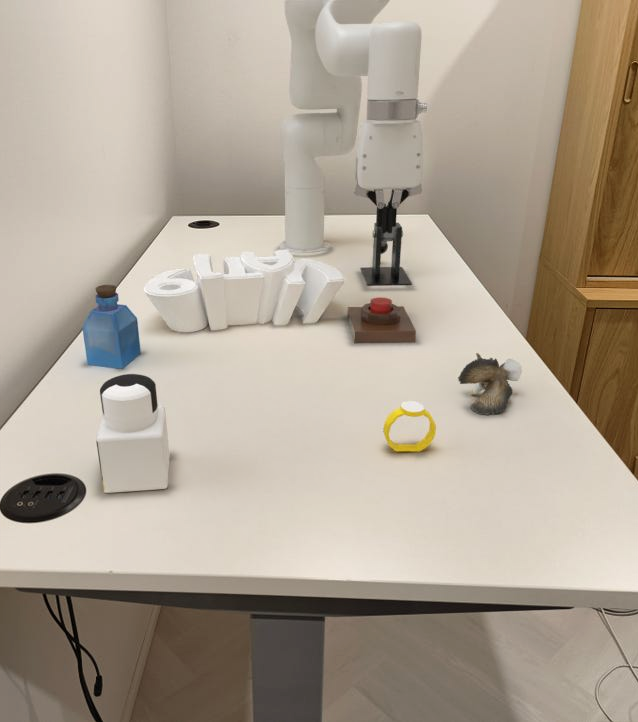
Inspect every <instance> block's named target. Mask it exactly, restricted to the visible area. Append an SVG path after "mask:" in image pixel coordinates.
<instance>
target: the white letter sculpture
mask: <svg viewBox="0 0 638 722" xmlns="http://www.w3.org/2000/svg"><path fill="white" fill-rule="evenodd" d="M192 259H193V264H194V269H195V273H196V281H195V280H194V277H193V274H192V270H191V269H187V268H177V269H169V270H166V271H163V272H161V273H159V274H157V275H155V276H154V277H152V278H151V279H149V280H148V281H147V283H146V284H145V285H144V287H143V292H144V293H145V294H146V296H147V297H148V299H149V300H150V302H151V303H152V305H153V306H154V308H155V309H156V311H157V312H158V313H159V315H160V317H161V318H162V319H163V321H164V322H165V323H166V325H167V326H168V328H169V329H170V330H172V331H174V332H178V333H194V332H199V331H201V330H203V329H205V328H207V327H208V326H209V330H210V331H211V332H212V331H221V330H226V329H228V326H247V325H256V324H261V325H265V324H266V323H268V322H271V321H272V323H273V324H274V326H287V325H289V323H290V320H291V318H292V316H293V313H294V312H295V309H296V307H297V308H298V309H300V310H301V312H302V313H303V314H300V317H301V319H302V324H317V322H318V321H319V319H320V318H321V316H322V315H323V314H324V313H325V311H326V309H328V307H329V305H330V303H331V302H332V301H333V299H334V298H335V296H336V295H337V293H338V292H339V291H340V289H341V288H342V286H343V285H344V283H345V282H346V277H345V275H344V274H343V273H342V272H341V270H339V269H338V268H336V267H334V266H333V265H330V264H328V263H326V262H324V261H323V262H322V261H320V260H315V259H312V258H307V257H303V258H301V259H298V260H296V261H295V260H294V255H293V254H292V252H289V251H288V250H279V249H276V250H274V251H273V253H272V256H256V252H254V251H253V250H251V251H243V252H241V254H240V257H238V256H230V257H229V256H228V257H224V258H222V263H223V273H222V272H214V270H213V262H212V256H211V254H210V253H197V254H194V255H193V256H192Z"/></svg>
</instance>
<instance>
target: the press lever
mask: <svg viewBox="0 0 638 722" xmlns="http://www.w3.org/2000/svg"><path fill="white" fill-rule="evenodd" d="M393 239H394V227H392V233H387V232H386V233H382V242H381V255H383V254H385V253H386V252H387V251H388V247H389V244H388V242H393Z"/></svg>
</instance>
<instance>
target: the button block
mask: <svg viewBox="0 0 638 722" xmlns="http://www.w3.org/2000/svg"><path fill="white" fill-rule="evenodd" d="M347 321H348V326H349V329H350V333H351V335H352V340H353V343H354V344H413V343H414V344H415V343H416V335H417V330H416V328H415V327H414V326H415V325H414V324H413V322H412V321H411V318H410V316H409V315H408V312H407V311H406V309H405V306H403V305H396V304H394V303H392V309H391V312H387V313H377V312H373V311H370V302H368V303H365V304H364V305H362V306H348V307H347Z"/></svg>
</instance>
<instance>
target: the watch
mask: <svg viewBox="0 0 638 722" xmlns="http://www.w3.org/2000/svg"><path fill="white" fill-rule="evenodd" d="M403 416H407V417H410V418H418V417H419V418H420V417H421V416H424V417H425V418H427V419H428V421H429V427H428V428H429V429H428V432H427V433H426V435H425V436H424V437H423V439H421V440H419V441H418V442H416V443H412V444H411V443H410V444H408V443H395V442H394V441H393V440H392V439H390V431H391V427H392V425H393V424H395V422H396V420H398V419H399V418H400V417H403ZM436 429H437V426H436V423H435V421H434V419H433V416H431V414H430V412H429V411H428V410H427V409H426V408H425V406H424V405H423V404H422V403H420V402H418V401H413V400H407V401H403V402H402V403H400V407H398V408H396V409H395V410H393V411H392V412H391V413H390V414H389V415H388V417H386V419H385V420H384V424H383V429H382V430H383V431H382V432H383V434H384V435H383V436H384V438H385V441H386V443H387V445H388V446H389V447H390V448H391V449H392V450H393V451H394V452H396V453H398V452H418V453H419V452H420V453H421V451H423V450H424V449H425V450H426V448H428V447H429V446H430V444H431V443H432V442H433V440H434V438H435V436H436V432H437V431H436Z"/></svg>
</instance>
